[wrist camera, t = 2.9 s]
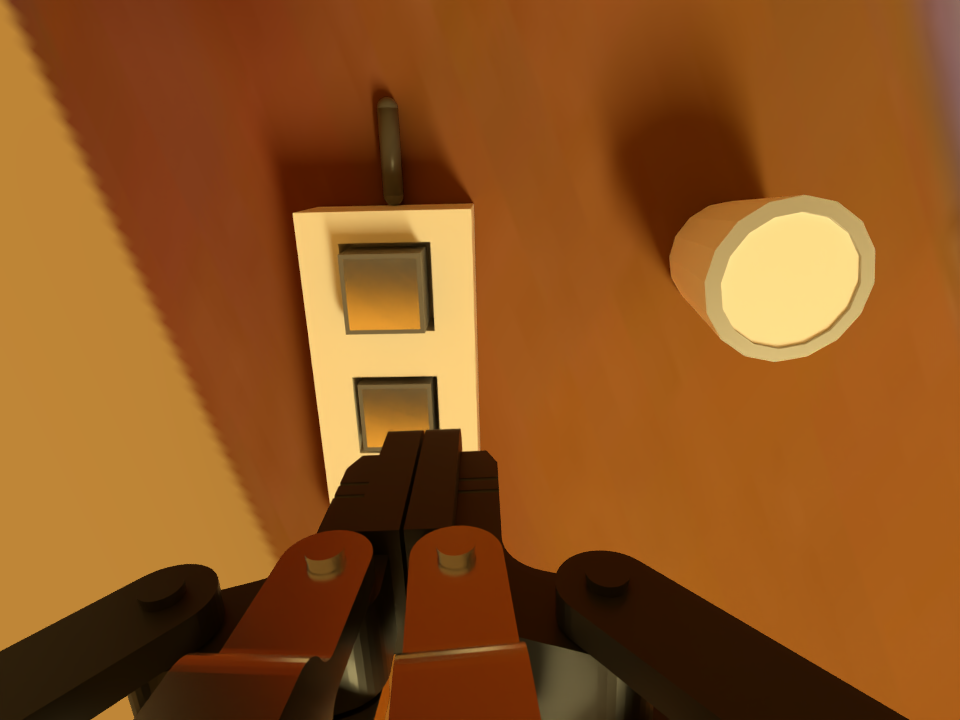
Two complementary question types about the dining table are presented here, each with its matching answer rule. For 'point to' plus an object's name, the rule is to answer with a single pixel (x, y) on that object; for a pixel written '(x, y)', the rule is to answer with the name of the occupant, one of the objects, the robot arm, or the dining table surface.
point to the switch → (385, 289)
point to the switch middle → (396, 407)
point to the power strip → (390, 355)
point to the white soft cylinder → (775, 273)
